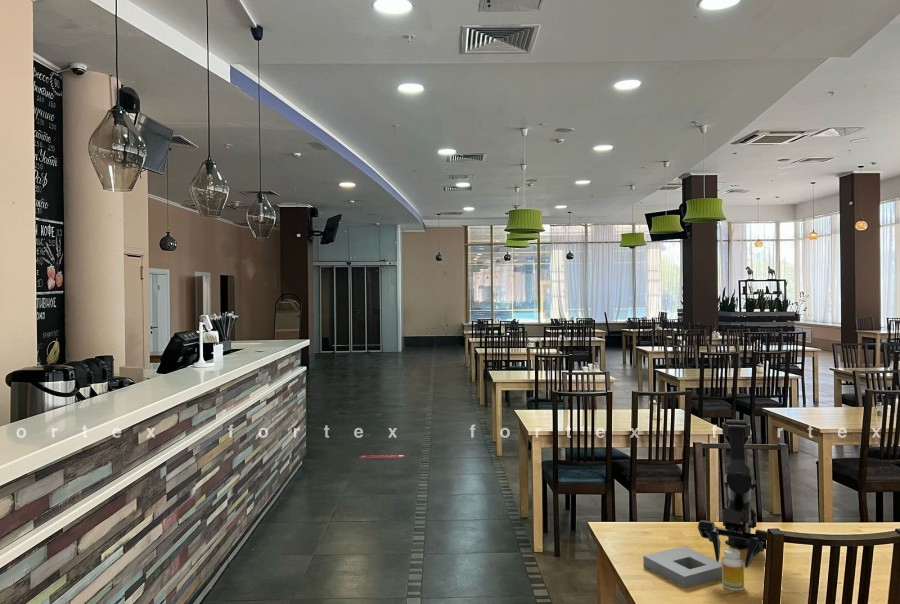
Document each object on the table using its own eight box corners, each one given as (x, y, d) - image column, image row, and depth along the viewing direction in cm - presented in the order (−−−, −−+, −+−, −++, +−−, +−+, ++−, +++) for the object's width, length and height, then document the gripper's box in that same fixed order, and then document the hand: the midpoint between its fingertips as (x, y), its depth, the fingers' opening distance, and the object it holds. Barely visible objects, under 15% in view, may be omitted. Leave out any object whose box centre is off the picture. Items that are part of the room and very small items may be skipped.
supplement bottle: (746, 591, 163) (745, 555, 163) (725, 590, 164) (723, 554, 164) (741, 583, 168) (740, 547, 169) (720, 581, 170) (719, 546, 170)
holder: (684, 555, 188) (684, 545, 188) (727, 575, 173) (727, 565, 173) (643, 565, 181) (643, 555, 181) (684, 587, 166) (684, 576, 166)
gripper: (698, 491, 175) (689, 542, 166) (771, 502, 164) (765, 557, 155) (706, 511, 182) (697, 561, 172) (776, 523, 171) (771, 577, 162)
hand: (731, 564), depth 165 cm, fingers open, 7 cm apart
